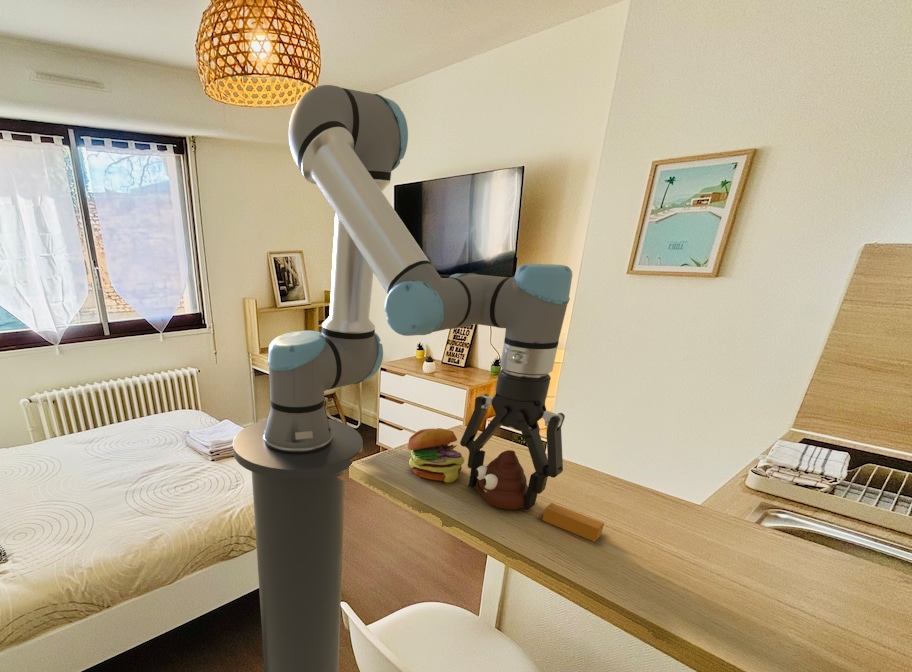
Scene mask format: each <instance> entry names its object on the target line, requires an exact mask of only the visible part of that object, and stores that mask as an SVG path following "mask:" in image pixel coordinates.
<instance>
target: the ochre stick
mask: <svg viewBox="0 0 912 672" xmlns="http://www.w3.org/2000/svg"><path fill="white" fill-rule="evenodd" d="M541 520H542V521H544V522H546V523H548V524H549V525H553V526H555V527H558V528H561V529H562V530H565V531H567V532H570V533H572V534H575V535H577V536H578V537H579V536H580V537H582V538H584V539H586V540H589V541H590V542H591V541H592V542H596V541H597V540H598V539H599V538H600V537H601V536H602V532H603V529H604V526H605V523H604V522H603V521H600V520H597V519H594V518H592V517H589V516H586V515H585V514H583V513H582V514H581V513H580V512H576V511H574V510H571V509H569V508H566V507H564V506H562V505H559V504H556V503H554V502H551V503H549V504H548V505H547V506H545V508H544V511H543V516H542V519H541Z"/></svg>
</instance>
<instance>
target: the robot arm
mask: <svg viewBox="0 0 912 672" xmlns="http://www.w3.org/2000/svg"><path fill="white" fill-rule="evenodd" d="M288 125H289V126H288V131H287V132H288V143H289V149H290V152H291V155H292V158H293V160H294V163H295V165H296V166H297V168H298V170H299V171H300V173H301V174H302V176H303V177H304V179H305V180H306V181H307V182H309V183H311V184H313V185H317V187H318V189H319V190H320V192H321V193H322V194H323V196H324V198H325V200H326V201H327V203H328V204H329V206H330V207H331V209H332V210H333V212H334V215H335V216H334V230H333V233H334V235H333V247H332V264H331V265H332V266H331V267H332V268H331V284H330V285H331V286H330V303H329V316H328V317H327V318H325V320H324V321H322V323H321V332H320V331H317V330H307V329H305V330H300V331H298V330H294V331H291V332H286V333H282V334H280V335H279V336H276V337H275V338H273V340H272V341H271V342H270V344H269V345H268V358H267V359H268V360H267V366H268V375H269V379H268V380H269V395H270V397H269V398H270V399H269V400H270V410H269V413H268V418H267V420H268V421H267V425H266V428H265V430H264V443H265V445H266V446H267V447H269V448H270V449H272V450H274V451H277V452H281V453H287V454H307V453H313V452H317V451H320V450H322V449H324V448H326V447H328V446H329V445H330V444H331V442H332V432H331V428H330V426H329V422H328V419H329V418H328V416H327V413H326V409H325V392H326V391H329V390H330V391H331V390H333V389H337V388H342V387H346V386H351V385H358V384H360V383H362V382H364V381H367V380H369V379H371V378H372V377H374V376H375V375H376V374H377V372H378V371H379V369H380V368H381V366H382V363H383V357H384V346H383V344H382V343H381V338H380V336H379V335H378V334H377V333H376V325H375V323H373V322H372V320H371V319H370V311H371V303H372V301H371V300H372V291H373V282H374V281H373V280H374V275H375V277H376V279H377V280H378V282H379V284H380V285H381V286H382V288H383V290H384V291H385V293H386V294H387V296H386V298H385V301H384V312H385V315H386V322H387V324H388V326H389V327H390V328H391V329H392V331H394V332H395V333H396V334H398V335H401V336H406V337H411V336H412V337H413V336H414V337H415V336H426V335H430V334H432V333H436V332H439V331H440V332H441V331H445V330H452V329H458V328H464V327H468V326H474V325H478V326H487V327H495V328H499V329H505V334H504V340H503V347H502V352H501V358H500V364H499V366H500V368H501V369H500V370H499V371H498V375H497V379H496V386H495V395H494V396H489V394H487V393H484V394H483V393H482V394H481V395H478V396H476V397H475V399H474V410H473V412H472V414H471V417H470V419H469V421H468V423H467V426H466V428H465V430H464V432H463V434H462V437H461V440H460V442H459V444H460V446H461V447H464V448H466V449H467V450H468V452H469V453H468V458H467V468H469V469H470V474H469V480H468V485H467V487H469V488H471V489H473V488H476V481H477V477H476V476H475V472H476V470H477V468H478V467H480V466H484V463H485V462H484V461H485V457H486V450H482V449H483V448H484V446H485V445H487V443H488V442H489V440H490V439H491V438H492V437H493V436H494V435H495V434H496V433H497V431H498V430H499V429H500V428H501V427H502V426H503V427H506V428H512V429H514V430H516V431H519V432H521V435H522V437H523V438H524V439H525V442H526V445H527V449H528V452H529V455H530V458H531V462H532V465H533V468H534V472H532V473H531V474H530V476H529V481H528V484H527V486H528V489H527V494H526V498H525V503H524V506H523V507H522V509H523V510H524V511H527V512H529V511H530V510H531V509H532V508H533V507H534V506H536V502H537V498H538V495H540V494H542V493H543V492H544V491H545V490H546V486H547V481H548V478H549V477H550V478H551V479H552V478H553V479H554V478H556V477H557V476H559V475H561V473H563V471H564V460H563V440H562V426H563V424H564V421H565V418H566V416H565V414H564V413H563V412H558V413H555V412H552V411H549V410H547V408H546V401H547V396H548V392H549V389H550V384H551V379H552V378H551V375H550V374H551V373H552V372H553V370H554V365H555V362H556V357H557V351H558V347H559V341H560V337H561V333H562V328H563V324H564V320H565V315H566V313H567V307H568V305H569V303H570V299H571V298H570V293H571V286H572V282H573V281H572V280H573V271H572V269H571V268H570V267H569V266H567V265H564V264H555V263H553V264H552V263H547V264H546V263H523V264H521V265H519V266H518V267H517V268H516V271H515V273H514V275H513V276H497V275H485V274H478V273H476V272H475V273H474V272H469V273H468V272H467V273H464V272H463V273H454V274H451V275H449V276H448V277H441V275H440V274H439V273H438V271H437V269H436V268H435V267H434V265H433V264H432V262H431V261H430V260H429V258H428V257H427V255H426V254H425V253H424V251H423V250H422V248H421V246H420V245H419V243H417V241H416V239H415V238H414V236H413V235H412V234H411V232H410V231H409V229H408V228H407V226H406V224H405V223H404V222H403V220H402V219H401V217H400V215H398V213H397V211H396V210H395V209H394V207H393V205H392V204H391V203H390V201H389V200H388V198H387V197H386V195H385V194H384V190H385V189H386V188H387V187H388V186H389V185H390V184H391V180H392V179H391V178H392V172H393V171H394V170H395V169H397V168H398V167H399V166H400V164H401V161H402V159H404V157H405V155H406V152H407V148H408V142H409V128H408V122H407V118H406V115H405V114H404V112H403V111H402V109H401V107H400V105H398V103H396V102H395V101H394V100H393V99H391V98H387V97H384V96H383V95H380V94H379V93H371V92H365V91H361V90H355V89H350V88H344V87H340V86H338V85H334V84H333V85H332V84H322V85H318V86H316V87H313V88H312V89H310V90H308V91H307V92H305V93H304V94H303V95H302V96H301V97H300V98H299V100H298V101H297V102H296V104H295V106H294V107H293V109H292V112H291V115H290V118H289V124H288ZM491 406H492V409H493V411H494V413H495V416H493V418H492V419H491V420H490V421H489V423H488V425H487V426H486V427H485V428H484V430H483V431H482V432H481V433H480V434H479V435H478V436H477V434H478V431H479V430H480V427H481V425H482V423H483V422H484V418H485V417H486V415H487V411H488V410H489V409H490V408H491ZM541 419H543V420H544V426H545V427H546V450H547V452H546V450H545V447H544V443H543V440H542V438H541V433H540V432H541V430H540V429H541V428H540V425H539V421H540V420H541ZM476 436H477V438H476Z"/></svg>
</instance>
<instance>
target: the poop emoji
mask: <svg viewBox="0 0 912 672" xmlns="http://www.w3.org/2000/svg"><path fill="white" fill-rule="evenodd" d="M475 476H476V477H477V481H476V486H475V488H476V490H477V492H478V493H479V494H480V495H481V497H482V498H483V499H484V501H486V502H487V503H488V504H489V505H491V506H493V507H496V508H499V509H502V510H518V509H521V508H522V509H523V507H524V503H525V498H526V494H527V489H528V484H527V483H528V482H527V477H526V474H525V471H524V468H523V466H522V465H521V463H520V461H519V458H518V456H517V454H516V451H515V450H511V449H510V450H509V449H508V450H504V451H501V452H500V454H498V456H497V457H495V458H494V459H492V460H491V461H490V462H489V463H488V464H487V465H483V466H480V467H478V468H477V470H476V472H475Z"/></svg>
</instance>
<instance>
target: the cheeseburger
mask: <svg viewBox="0 0 912 672" xmlns="http://www.w3.org/2000/svg"><path fill="white" fill-rule="evenodd" d="M457 441H458V438H457V436H456V434H455V432H454V431H453V430H450V429H446V428H441V427H440V428H439V427H438V428H424V429H419V430H418V431H416V432H415V433H413V434H412V435H411V436H410V437H409V438H408V443H407V449H408V450H410V451H411V452H410V455H411V457H410V458H409V460H408V464H409V467H410V468H411V469H412V472H413V473H414V474H415V475H416V476H418V477H420V478H424V479H428V480H433V481H440V482H442V481H443V482H444V483H446V484H448V483H453V482H455V481H457V479H458V477H459V476H460V473H461V472H462V468H463V467H462V466H463V465H464V464H465V457H464V456H463V455H462V453H461V452H460V451H457V450H456V449H455V448H456V447H457V446H458V444H456V445H454V444H452V443H455V442H457Z"/></svg>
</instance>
